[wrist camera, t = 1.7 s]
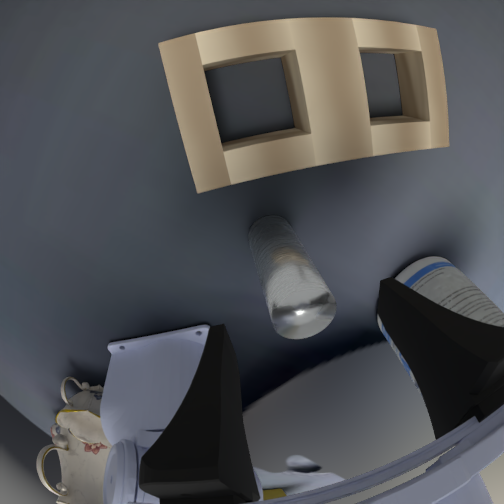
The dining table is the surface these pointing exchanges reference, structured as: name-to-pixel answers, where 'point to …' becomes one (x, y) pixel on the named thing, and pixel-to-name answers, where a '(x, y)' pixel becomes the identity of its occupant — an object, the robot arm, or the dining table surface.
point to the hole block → (308, 95)
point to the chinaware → (79, 447)
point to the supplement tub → (446, 295)
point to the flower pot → (273, 494)
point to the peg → (289, 280)
